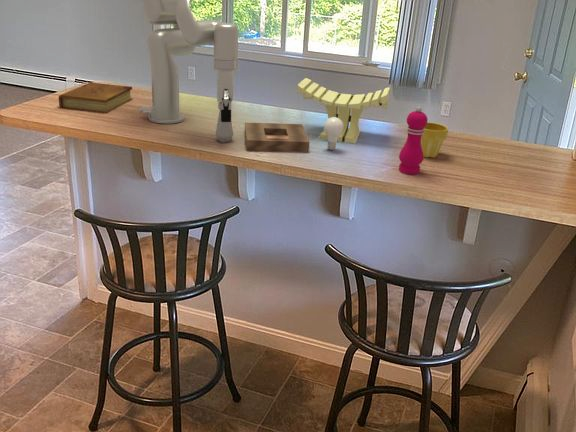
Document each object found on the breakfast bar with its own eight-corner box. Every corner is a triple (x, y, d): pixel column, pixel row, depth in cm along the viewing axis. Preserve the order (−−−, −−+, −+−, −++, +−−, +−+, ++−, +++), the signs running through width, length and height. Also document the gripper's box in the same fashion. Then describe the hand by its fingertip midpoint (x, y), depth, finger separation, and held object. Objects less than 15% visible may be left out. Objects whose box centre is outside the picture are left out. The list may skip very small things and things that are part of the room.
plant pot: (442, 151, 195) (447, 123, 191) (444, 161, 186) (449, 132, 182) (411, 148, 196) (415, 120, 192) (411, 157, 187) (416, 128, 183)
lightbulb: (343, 148, 191) (346, 116, 186) (338, 154, 185) (341, 121, 181) (324, 145, 193) (327, 113, 188) (319, 151, 187) (322, 118, 183)
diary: (89, 96, 235) (88, 82, 233) (132, 101, 233) (132, 86, 230) (59, 109, 215) (58, 94, 212) (106, 114, 212) (105, 99, 210)
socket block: (246, 150, 183) (246, 139, 182) (244, 132, 201) (244, 121, 200) (308, 152, 185) (309, 141, 184) (301, 133, 203) (301, 123, 202)
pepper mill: (394, 166, 178) (403, 102, 170) (417, 167, 179) (427, 103, 170) (400, 174, 172) (410, 109, 163) (423, 175, 172) (435, 110, 164)
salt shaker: (234, 138, 194) (235, 100, 188) (231, 143, 189) (232, 104, 183) (217, 137, 194) (217, 99, 189) (213, 142, 189) (214, 103, 183)
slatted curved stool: (384, 134, 209) (390, 85, 202) (379, 147, 195) (386, 95, 188) (303, 124, 215) (307, 76, 207) (294, 135, 201) (297, 84, 193)
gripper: (214, 59, 188) (214, 111, 195) (213, 69, 172) (214, 124, 179) (237, 60, 189) (237, 111, 196) (238, 69, 173) (238, 125, 180)
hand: (226, 117), depth 188 cm, fingers open, 9 cm apart
